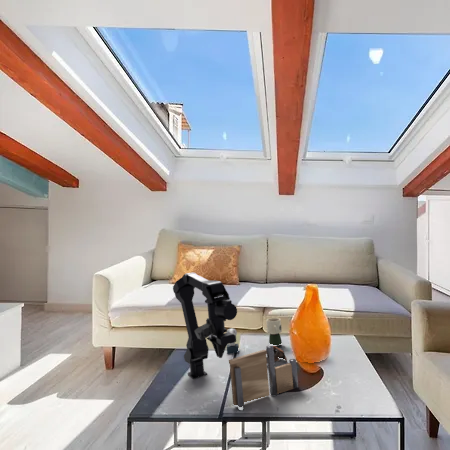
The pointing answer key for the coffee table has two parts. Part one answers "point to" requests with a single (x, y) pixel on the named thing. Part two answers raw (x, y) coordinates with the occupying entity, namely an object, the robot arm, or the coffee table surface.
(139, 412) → the coffee table surface
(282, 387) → the gate frame
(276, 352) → the pottery mug
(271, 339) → the character mug
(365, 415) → the coffee table surface
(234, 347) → the grey bust figurine
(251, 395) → the gate
